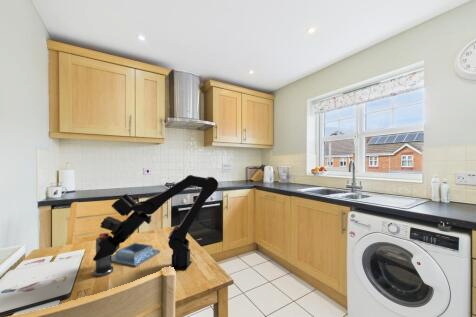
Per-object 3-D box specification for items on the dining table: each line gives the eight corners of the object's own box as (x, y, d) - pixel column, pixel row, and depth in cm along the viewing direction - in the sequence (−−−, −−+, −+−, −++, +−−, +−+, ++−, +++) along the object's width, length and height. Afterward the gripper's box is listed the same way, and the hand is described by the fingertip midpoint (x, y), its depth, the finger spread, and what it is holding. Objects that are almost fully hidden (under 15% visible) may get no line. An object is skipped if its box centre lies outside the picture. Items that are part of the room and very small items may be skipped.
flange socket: (160, 252, 96) (160, 244, 96) (136, 266, 83) (136, 258, 83) (133, 247, 101) (133, 240, 101) (106, 260, 88) (107, 252, 88)
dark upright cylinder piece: (115, 267, 82) (116, 230, 83) (109, 276, 76) (109, 236, 76) (98, 268, 81) (98, 231, 81) (89, 277, 75) (90, 237, 75)
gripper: (124, 204, 89) (95, 232, 87) (105, 216, 71) (68, 250, 68) (143, 222, 90) (115, 249, 88) (129, 237, 72) (94, 272, 70)
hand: (100, 254), depth 79 cm, fingers open, 9 cm apart
